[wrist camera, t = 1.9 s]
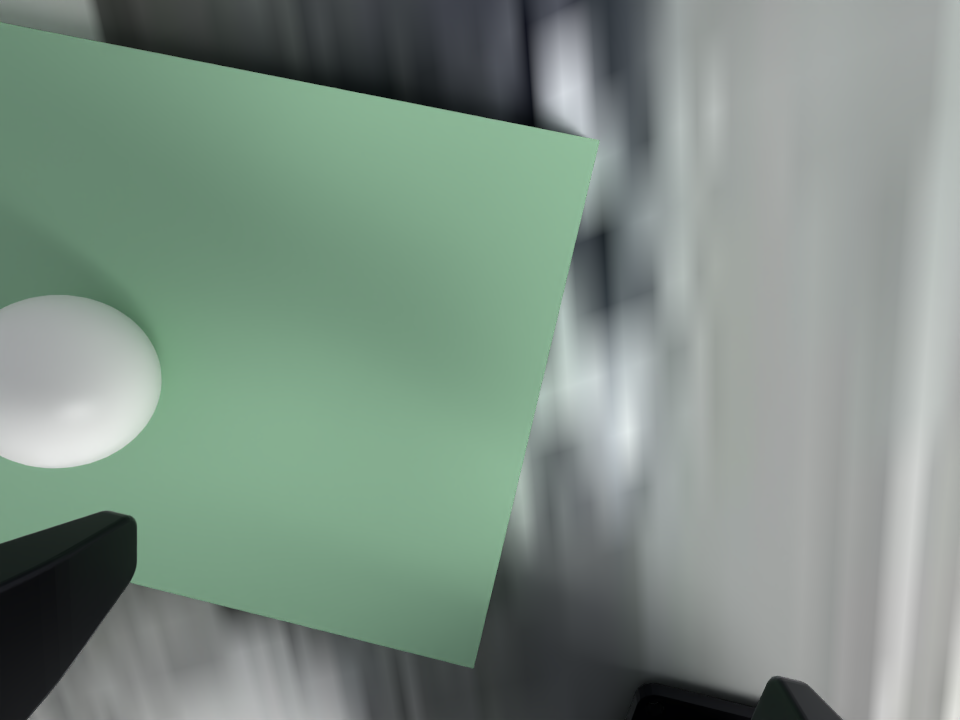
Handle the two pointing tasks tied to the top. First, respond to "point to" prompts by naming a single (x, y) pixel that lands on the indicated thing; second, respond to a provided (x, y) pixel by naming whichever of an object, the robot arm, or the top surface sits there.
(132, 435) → the ball
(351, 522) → the green slab with hole
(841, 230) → the top surface
